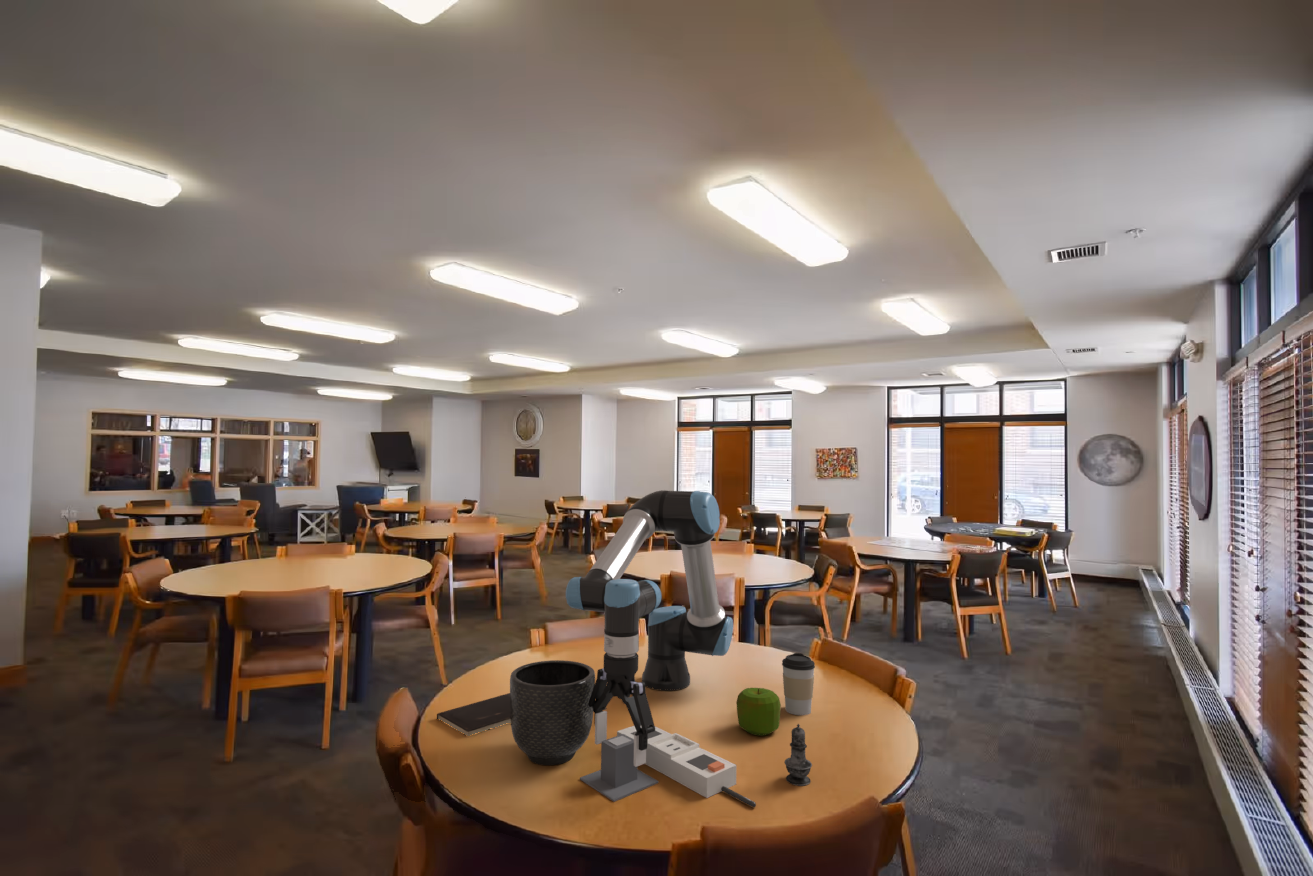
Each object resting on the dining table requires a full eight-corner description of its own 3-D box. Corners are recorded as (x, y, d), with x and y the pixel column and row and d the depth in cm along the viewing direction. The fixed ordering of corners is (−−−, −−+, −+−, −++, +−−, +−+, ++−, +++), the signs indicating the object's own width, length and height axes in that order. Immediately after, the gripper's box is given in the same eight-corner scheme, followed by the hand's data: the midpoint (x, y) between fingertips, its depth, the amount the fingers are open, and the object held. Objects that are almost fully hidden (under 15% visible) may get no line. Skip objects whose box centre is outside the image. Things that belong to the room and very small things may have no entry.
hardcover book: (543, 715, 174) (544, 706, 174) (467, 740, 158) (467, 730, 158) (510, 699, 185) (511, 691, 186) (436, 721, 169) (436, 712, 169)
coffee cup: (815, 718, 173) (815, 662, 174) (781, 715, 175) (781, 659, 176) (814, 706, 182) (814, 652, 183) (781, 703, 184) (782, 650, 185)
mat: (579, 779, 138) (579, 777, 138) (623, 763, 146) (623, 761, 146) (613, 802, 129) (613, 799, 129) (658, 783, 136) (658, 781, 137)
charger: (600, 779, 137) (601, 740, 137) (622, 770, 141) (623, 733, 141) (615, 788, 133) (615, 748, 134) (637, 779, 137) (637, 740, 138)
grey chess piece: (781, 773, 141) (781, 718, 142) (807, 773, 142) (807, 718, 143) (788, 787, 136) (789, 729, 136) (815, 786, 136) (815, 729, 137)
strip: (616, 748, 153) (617, 727, 153) (645, 738, 159) (645, 718, 159) (740, 816, 124) (740, 791, 124) (769, 801, 130) (769, 777, 130)
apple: (782, 725, 168) (783, 683, 169) (776, 742, 158) (776, 697, 158) (741, 719, 172) (741, 678, 172) (732, 735, 162) (732, 691, 162)
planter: (555, 784, 135) (557, 693, 136) (489, 760, 146) (491, 676, 147) (610, 750, 152) (611, 669, 153) (547, 731, 162) (549, 655, 163)
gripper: (574, 643, 145) (572, 738, 144) (645, 670, 126) (643, 780, 125) (600, 638, 150) (599, 730, 149) (672, 663, 131) (671, 768, 130)
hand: (619, 753), depth 137 cm, fingers open, 13 cm apart
